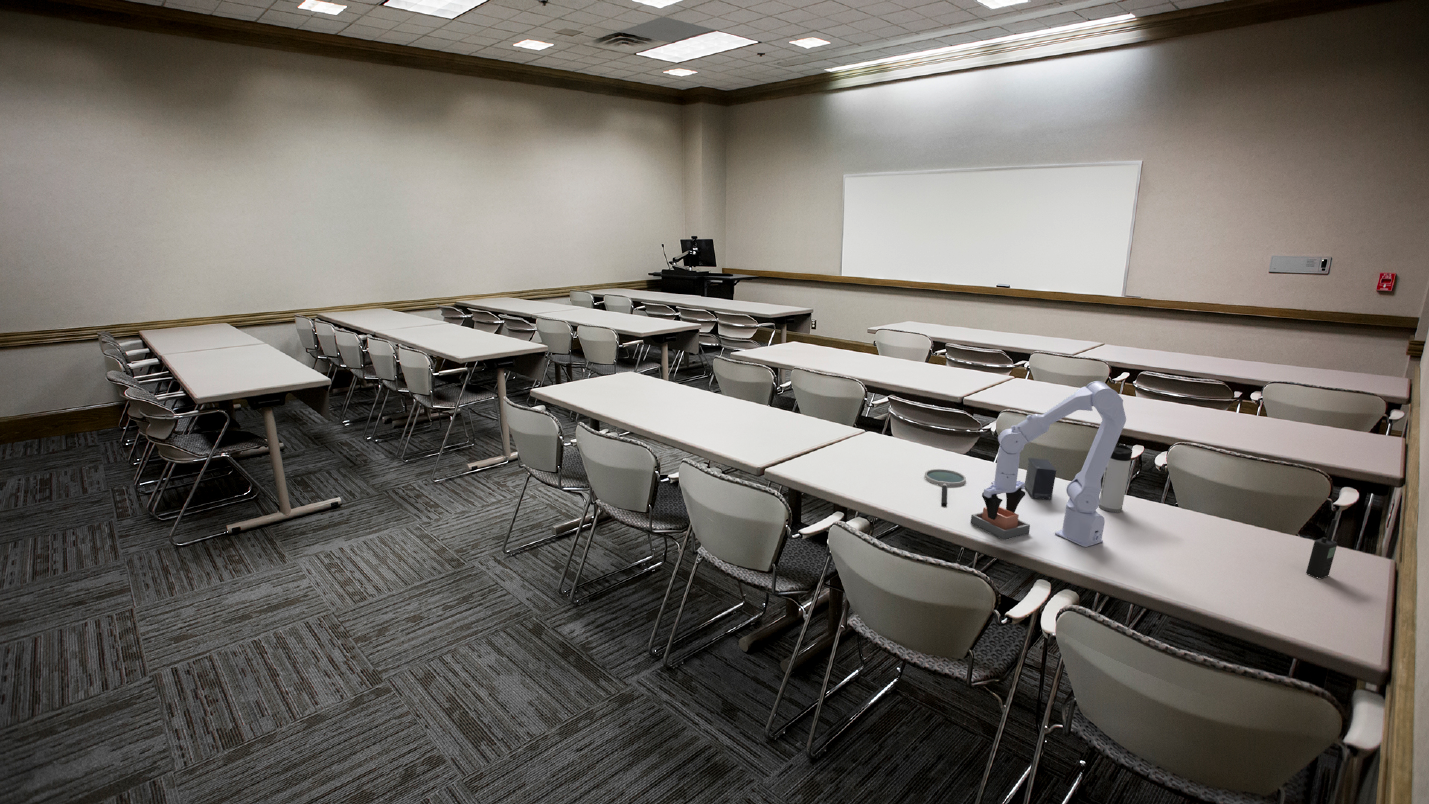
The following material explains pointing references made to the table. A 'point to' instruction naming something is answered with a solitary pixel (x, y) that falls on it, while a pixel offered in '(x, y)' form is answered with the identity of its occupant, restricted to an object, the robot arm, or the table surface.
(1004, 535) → the charcoal crate
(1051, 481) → the small box
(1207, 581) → the table surface
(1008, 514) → the terracotta crate
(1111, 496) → the travel mug
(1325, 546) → the walkie-talkie
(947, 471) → the magnifying glass
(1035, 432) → the robot arm
